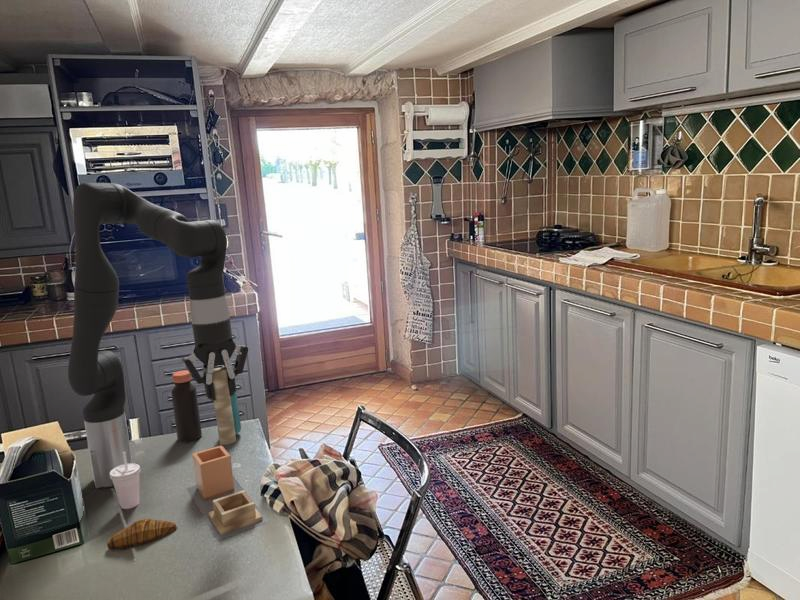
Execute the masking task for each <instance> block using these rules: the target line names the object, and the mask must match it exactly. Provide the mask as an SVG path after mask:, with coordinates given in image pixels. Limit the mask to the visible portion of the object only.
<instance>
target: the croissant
mask: <svg viewBox="0 0 800 600" xmlns="http://www.w3.org/2000/svg"><path fill="white" fill-rule="evenodd" d="M177 529H178V527H177V525H176V523H175V522H171V521H168V520H161V519H160V520H159V519H157V520H156V519H155V520H154V519H151V518H141V519H138V520H135V521H134V522H132V523H131V524H130V525H129V526H126V527H125V528H123V529H120V530H119V531H118V532H117V533H115V534H114V535H113V536H111V537H110V538H109V539H107V542H106V543H107V544H106V546H107V549H108V550H113V551H114V550H126V549H130V548H136V547H135V546H139V545H144V544H146V543H150V542H152V541H154V540H155V541H156V540H157V539H161V538H163V537H166V536H167V535H170V534H172V533H173V532H176V531H177Z"/></svg>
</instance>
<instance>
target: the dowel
mask: <svg viewBox="0 0 800 600" xmlns="http://www.w3.org/2000/svg"><path fill="white" fill-rule="evenodd" d="M212 383H213V385H214V392H215V400H214V401H213V405H214V411H215V418H216V426H217V433H218V440H219V445H222V446H225V445H230V444H233V443H235V442H236V441H237V437H236V434H235V428H234V421H233V413H232V406H231V399H230V391H229V384H228V377H227V371H226V369H225V368H223V367H214V370H213V374H212Z"/></svg>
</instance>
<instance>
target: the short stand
mask: <svg viewBox="0 0 800 600" xmlns="http://www.w3.org/2000/svg"><path fill="white" fill-rule="evenodd" d="M244 490H245V489H244ZM244 490H243V491H240V492H237V493H234V494H231V495H228V496H225V497H222V498H219V499H216V500H213V507H214V511H211V512H208V513H209V517H210V518H211V520H212V522H213V523H214V525H215V527H216V528H217V530H218V531H219V533H220V535H223V534H226V533H228V532H231V531H234V530H236V529H239V528H242V527H245V526H247V525H250V524H253V523H255V522H258V521H261V520H262V516H261V514H260V513H259V512H258V511H257V509H256V508H255V504H256V503H255V502H253V501H254V500H253V499H252V498H251V496H250V495H249V494H248V493H247V491H246V492H245V491H244ZM247 494H248V495H249V496H250V497H249V496H248V495H247ZM251 499H252V500H253V501H252V500H251Z"/></svg>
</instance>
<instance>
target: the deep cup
mask: <svg viewBox="0 0 800 600" xmlns="http://www.w3.org/2000/svg"><path fill="white" fill-rule="evenodd" d="M191 455H192V462H193V470H194V478H195V483H196V484H195V486H197V489H198V491H199V492H200V494H201V496H202V497H203V499H204V500H208V499H211V498H214V497H217V496H220V495H223V494H226V493H229V492H232V491H234V482H233V476H234V475H233V473H234V472H233V468H232V458H231V455H230V453H229V452H228V451H227V450H226V449H225V447H224V445H223V444H220V445H219V446H214V447H211V448H208V449H204V450H201V451H197V452H194V453H192V454H191Z"/></svg>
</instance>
